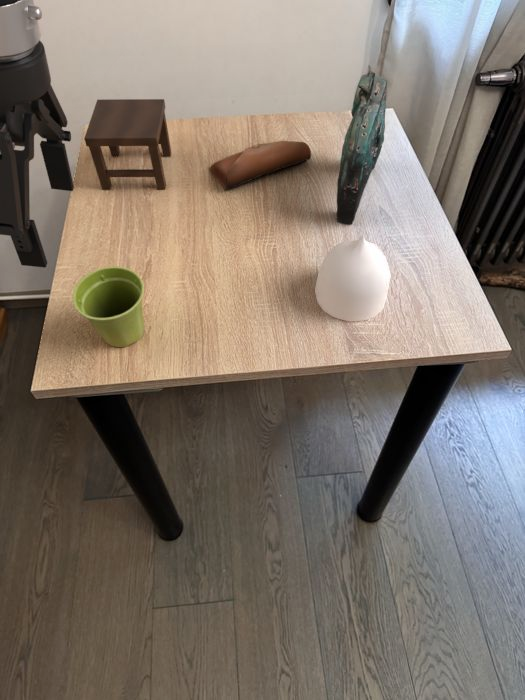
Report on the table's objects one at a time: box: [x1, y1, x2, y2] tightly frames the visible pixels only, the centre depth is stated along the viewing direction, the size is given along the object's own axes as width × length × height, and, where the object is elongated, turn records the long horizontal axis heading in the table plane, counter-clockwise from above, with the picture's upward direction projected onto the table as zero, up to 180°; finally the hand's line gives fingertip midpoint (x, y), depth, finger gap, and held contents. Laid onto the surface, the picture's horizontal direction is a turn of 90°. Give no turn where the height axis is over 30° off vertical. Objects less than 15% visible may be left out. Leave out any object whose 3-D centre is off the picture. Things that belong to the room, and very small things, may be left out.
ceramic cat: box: [335, 65, 388, 225], centre depth 84 cm, size 20×6×20 cm, turn 164°
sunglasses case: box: [210, 140, 312, 191], centre depth 95 cm, size 18×7×7 cm
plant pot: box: [72, 265, 145, 348], centre depth 71 cm, size 9×9×9 cm
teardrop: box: [314, 234, 392, 323], centre depth 73 cm, size 11×11×12 cm
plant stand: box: [83, 98, 172, 191], centre depth 92 cm, size 12×12×10 cm
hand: (49, 224), depth 63 cm, fingers open, 13 cm apart
